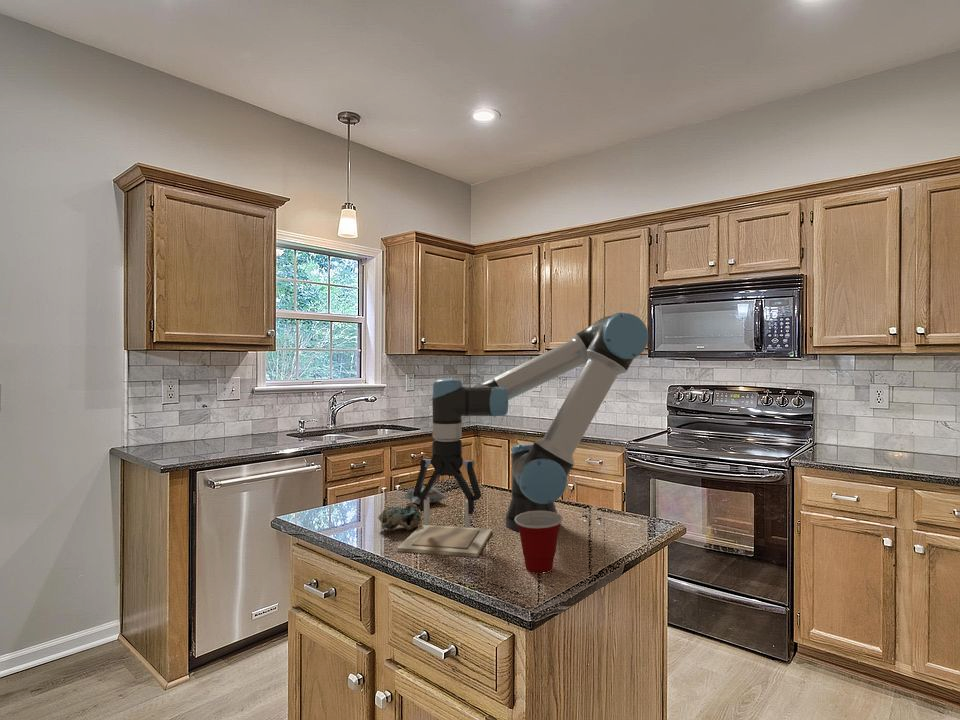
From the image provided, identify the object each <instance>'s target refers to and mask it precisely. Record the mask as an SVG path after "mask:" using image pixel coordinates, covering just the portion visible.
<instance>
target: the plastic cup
mask: <svg viewBox="0 0 960 720" xmlns="http://www.w3.org/2000/svg"><path fill="white" fill-rule="evenodd" d="M514 520H515V522H516V524H517V526H518V529H519V531H518V532H519V536H520V542H521V548H522V554H523V560H524V565H525V569H526V570H528V571H527V572H529V571H530V572H529V573H531V572H534V573H533V574H536V573H543V572H548V571H550V570H551V569H553V566H554V559H555V555H556V550H557V549H556V548H557V543H558V538H559V537H558V536H559V531H560V528H561V527H560V526H561V523H562V521H563V516H562V515H561V513H558V512H557V513H555V512H551V511H528V512H525V513H521V514H519V515H517V516H516V517H515V519H514ZM551 571H552V570H551ZM551 571H550V572H551Z"/></svg>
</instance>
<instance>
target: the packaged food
mask: <svg viewBox="0 0 960 720" xmlns="http://www.w3.org/2000/svg"><path fill="white" fill-rule="evenodd" d="M425 487H426V486H422V489H421V492H423V490H424V488H425ZM414 489H415V488H412V489H409V490H407V492H406V494H405V495H404V499H407V500H409V501H410V502H411V504H415V505H419V506H420V498H418V497H414V496H413V492H414ZM426 498H430V504H435V503H438V502H441V501H443V500H445V499H447V498H448V495H447V494H446V493H445V494H444V493H442V492H441V491H440V489H439V488H437V487H433V486H432V488H431V490H430V491H429V493H428V495H427V497H426Z"/></svg>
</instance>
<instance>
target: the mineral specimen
mask: <svg viewBox="0 0 960 720" xmlns="http://www.w3.org/2000/svg"><path fill="white" fill-rule="evenodd" d="M417 505H418V504H416V503H409V504H407V506H405V507H403V508H401V507H397V506H392V507H390V506H386V508H384V509H383V511H382V513H380V514H379V515H378V517H377V519H378V520H379V521H380V522H381V530H384V529H387V530H389V531H392V530H394V529H396V528H397V527H398V526H401V527H403V528H404V529H405V530H406V531H411V530H413V529H414V528H418V527H419V526H420V525H422V524H423V521H422V515H423V514H422V512H421V511H420V508H418V506H417Z"/></svg>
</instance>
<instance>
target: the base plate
mask: <svg viewBox="0 0 960 720" xmlns="http://www.w3.org/2000/svg"><path fill="white" fill-rule="evenodd" d="M492 533H493V529H492V528H483V527H468V528H465V526H450V525H449V526H448V525H434V524H433V525H432V524H428V525H424V524H420V525H418V526H417V527H416V529H415V530H414V531H412V533H411V534H410V535H409V536H408V537H407V538H406V539H405V540H403V541H402V543H400V544H399V545H398V546H397V547H396V550H397V551H396V552H400V553H415V554H429V555H443V556H457V557H458V556H459V557H470V558H471V557H472V558H478V557H479V555H480V553H481V551H482V550H483V547H485V545H486V543H487V541H488V539H489V538H490V536H491V535H492Z"/></svg>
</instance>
